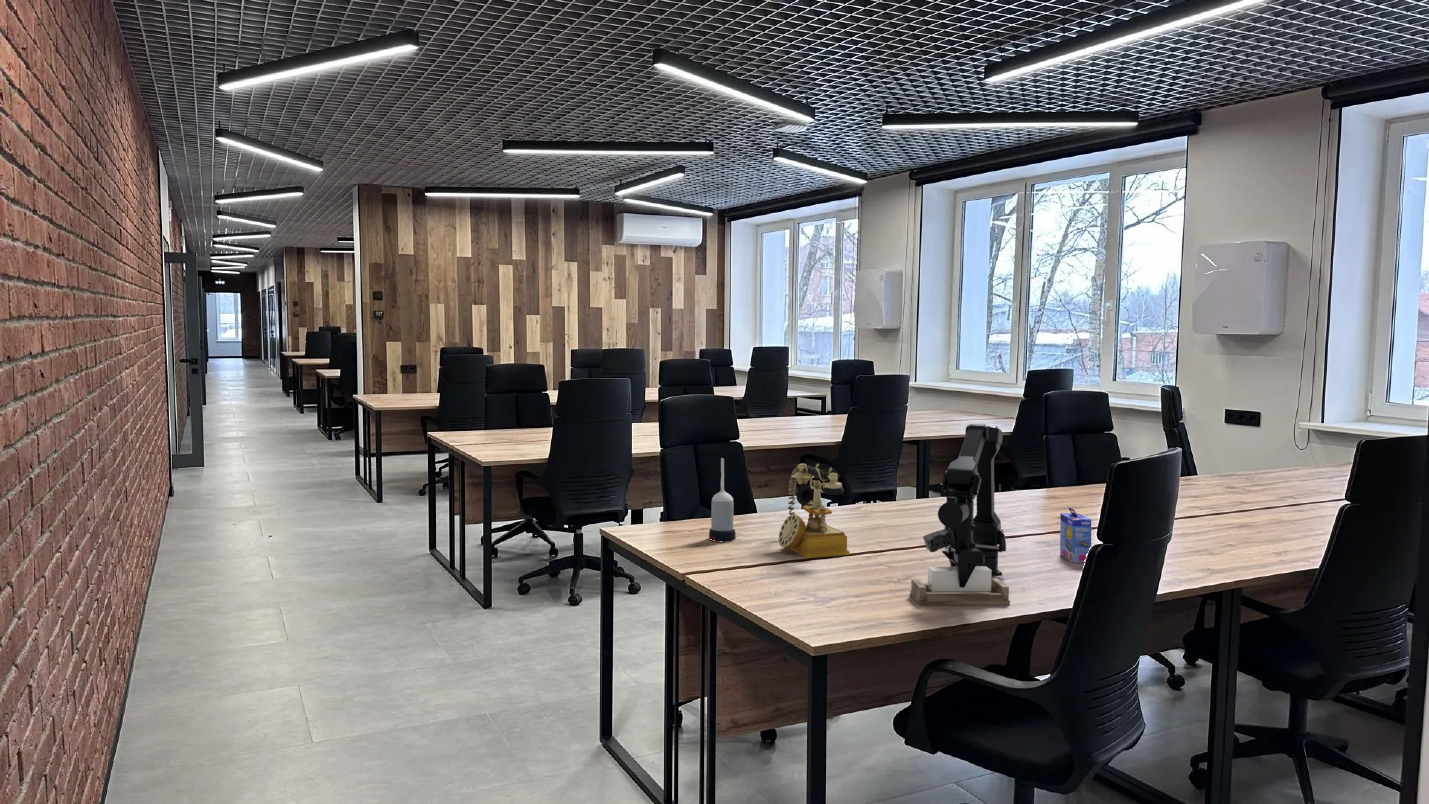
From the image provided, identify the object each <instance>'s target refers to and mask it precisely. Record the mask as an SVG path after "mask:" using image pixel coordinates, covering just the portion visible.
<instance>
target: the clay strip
mask: <svg viewBox="0 0 1429 804" xmlns="http://www.w3.org/2000/svg"><path fill="white" fill-rule="evenodd" d="M991 572H992V570H990V569H989V568H988V567H986V566H976V567H975V569H974V570H973V572H972V574H971V576H970V578H969V580H968V582H967V584H966V585H965V587H964V588H961V587H960V586H959V580H958V572H957V566H954V567H951V566H928V567H927V584H928V588H929V589H930V590H931V591H932V592H963V591H991V578H992V575H991Z"/></svg>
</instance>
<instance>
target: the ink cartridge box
mask: <svg viewBox="0 0 1429 804" xmlns="http://www.w3.org/2000/svg"><path fill="white" fill-rule="evenodd" d="M1067 509H1068V510H1069V513H1068V512H1065V513H1064V512H1061V513H1060V515H1059V516H1060V518H1059V519H1060V520H1059V521H1060V528H1059V529H1060V530H1059V533H1060V535H1059V536H1060V537H1059V538H1060V539H1059V545H1060V546H1059V549H1060V550H1059V553H1060V554H1059V555H1060V556H1062V557H1063V558H1065V559H1067V560H1068V561H1070V562H1071V563H1075V564H1076V563H1085V562H1084V560H1085V559H1086V554H1087V553H1088V551H1089V548H1090V547H1091V548H1092V519H1091V518H1089V517H1086V516H1085V515H1083V514H1081V513H1078V512H1076V511H1075V509H1074V508H1071V507H1069V506H1068V507H1067Z"/></svg>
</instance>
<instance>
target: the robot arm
mask: <svg viewBox="0 0 1429 804" xmlns="http://www.w3.org/2000/svg"><path fill="white" fill-rule="evenodd" d="M964 437H965V438H964V440H963V442H962V446H961V449H960V451H959V454H958V457H957V458H956V459H955V460H953V461H951V462H950V463H949V466H948V467H947V470H945V471H944V474H943V480H942V484H941V488H940V489H941V490H940V493H939V496H940V498H946V502H944V503H942V504H941V505H940V506H939V509H938V511H937V518H938V520H939V521H940V523H941V525H943V526H944V528H943V529H941V530H936V531H933V532H931V533H928V534H925V535H923V542H924V544H925V547H926V549H927V551H929V552H930V553H935V552H938V551H939V550H942V549H944V550H942V551H941V553H942V554H943V555H944V556H945V557H946V558H947V559H948V561H949V567H954V566H957V572H958V580H959V586H960V587H961V588H964V587H965V585H966V584H967V582H968V580H969V578H970V576H971V574H972V572H973V570H974V569H975V567H976V566H986V567H988V568H989V569H990V570H992V572H991V576H992V575H994V576H995V575H997V576H998V575H1003V572H1002V571H1001V570H1000V569H999V553H1002V552H1007V541H1006V534H1004V530H1003V528H1002V523H1001V522H1002V521H1001V519H1000V518H999V516H998V515H997V513H996V512H995V457H996V455H997V454H998V453H999V450H1000V448H1001V445H1002V443H1003V431H1002V430H1001V429H1000V428H999V427H998V426H997V425H986V424H984V423H981V424H980V423H969V424H967V425H966V426H965V435H964ZM974 499H976V514H975V516H974V507H975V506H974V505H975V504H974V503H975V501H974Z"/></svg>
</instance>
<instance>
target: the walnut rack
mask: <svg viewBox="0 0 1429 804" xmlns="http://www.w3.org/2000/svg"><path fill="white" fill-rule="evenodd" d="M910 582H911V587H910V588H911V589H910V590H909V591H910V592H909V594H910V596H911V597H912V598H913V597H914V598H913V599H914V600H915V601H916V602H917V603H918V605H920V606H1011V600H1010V599H1009V597H1010V596H1009V593H1010V592H1009V591H1010V586H1009V585H1007V584H1006V583H1005V582H1003V581H1002V580H1000V579H999V578H996V577H994V578H993V577H991V591H963V592H932V591H931V590H930V589H929V588H928V583H922V582H921V580H919V578H911V581H910Z"/></svg>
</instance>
